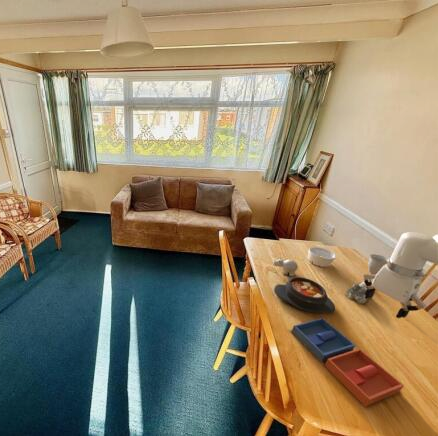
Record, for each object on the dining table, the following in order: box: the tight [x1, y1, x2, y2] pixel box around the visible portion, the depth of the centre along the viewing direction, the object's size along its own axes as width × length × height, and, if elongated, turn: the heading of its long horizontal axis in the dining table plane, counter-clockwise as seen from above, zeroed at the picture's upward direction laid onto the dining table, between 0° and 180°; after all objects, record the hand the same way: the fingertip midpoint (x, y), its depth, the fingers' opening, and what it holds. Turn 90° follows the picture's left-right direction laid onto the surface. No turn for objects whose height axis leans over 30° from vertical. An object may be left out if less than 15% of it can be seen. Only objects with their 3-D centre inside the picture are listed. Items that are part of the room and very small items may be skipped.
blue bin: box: [291, 317, 356, 363], centre depth 90 cm, size 13×15×4 cm
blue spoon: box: [306, 330, 336, 347], centre depth 90 cm, size 11×4×3 cm, turn 105°
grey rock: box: [346, 283, 368, 305], centre depth 112 cm, size 11×8×4 cm
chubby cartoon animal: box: [273, 257, 299, 278], centre depth 129 cm, size 7×12×8 cm, turn 51°
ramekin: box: [307, 246, 337, 268], centre depth 139 cm, size 13×13×7 cm
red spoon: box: [344, 365, 379, 386], centre depth 77 cm, size 11×4×3 cm, turn 105°
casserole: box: [273, 276, 336, 314], centre depth 109 cm, size 25×19×8 cm
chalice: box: [358, 253, 390, 289], centre depth 116 cm, size 7×7×18 cm
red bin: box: [324, 348, 405, 407], centre depth 77 cm, size 13×15×4 cm
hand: (383, 306), depth 83 cm, fingers open, 9 cm apart
